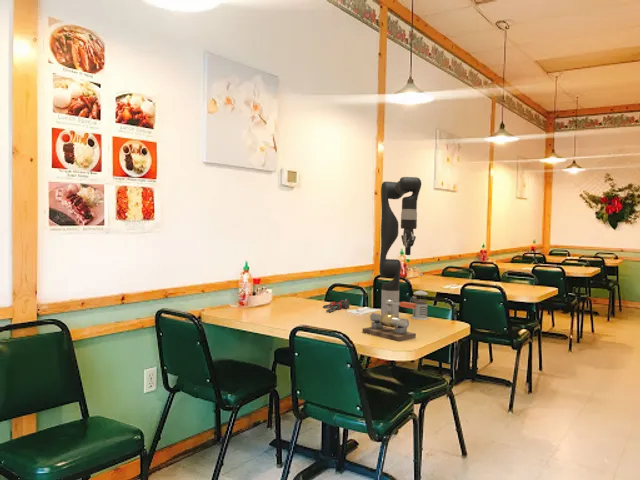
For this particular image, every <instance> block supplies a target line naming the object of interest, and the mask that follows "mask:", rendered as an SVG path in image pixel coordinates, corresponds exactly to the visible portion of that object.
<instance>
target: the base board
mask: <svg viewBox="0 0 640 480" xmlns="http://www.w3.org/2000/svg"><path fill="white" fill-rule="evenodd" d="M371 327H372V326H370V327H364V328H361V329H362V334H366V333H367V335H370V334H371V335H370V336H374V337H375V336H376V337H379V338H383V339H388V340H391V341H396V342H403V341H408V340H413V339H416V338H417V334H416V333H415V332H411V331H407V334H402V335H398V334H395V328H392V327H387V326H383V328H382V329H377V330H376V329H371Z"/></svg>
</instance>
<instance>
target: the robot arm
mask: <svg viewBox="0 0 640 480" xmlns="http://www.w3.org/2000/svg"><path fill="white" fill-rule="evenodd" d="M421 187H422V180H421V179H420V178H419V177H417V176H402V177H400V178H399V180H398V181H383V182H382V184H381V187H380V200H381V215H380V216H381V219H380V220H381V221H380V222H381V223H380V255H379V257H380V258H379V268H378V269H379V276H380V277H384V278H393V279H391V280H390V281H387V282H385V283H383V284H382V285H381V297H380V298H381V301H380V303H381V304H380V305H381V306H380V314H383V313H388V305H387V304H386V300H387V299H391V300H393V301H395V302H400V283H401V269H402V267H401V261H400V259H394V258H393V259H392V258H391V259H390V258H387V255H388V253H389V250H391V247H392V245H394V244H395V241H396V240H397V238H398V236H399V226H400V229H403V232H402V235H401V241H402V245H403V246H404V248H405V249H404V252H405V253H404V255H405V256H411V249H412V247H413V246H414V245H415V241H416V236H415V235H414V234H415V233H414V230H416V229H417V227H418V223H417V222H418V209H417V208H418V198H419V195H420V191H421ZM408 193H411V195H409V196H404V195H406V194H408ZM403 196H404V197H403ZM402 197H403V198H402ZM401 198H402V199H401ZM399 199H401V200H402V201H401V213H400V225H399V220H398V218H397V217H396V215H395V213H394V212H393V211H392V208H391V207H390V202H389V200H399ZM399 311H400V305H395V304H393V305H391V314H393V315H397V317H398V318H400V317H399V316H400V315H399V314H400V312H399Z"/></svg>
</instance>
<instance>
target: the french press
mask: <svg viewBox="0 0 640 480" xmlns="http://www.w3.org/2000/svg"><path fill="white" fill-rule="evenodd" d="M423 275H424V273H421V272H420V273H419V276H420V277H422V276H423ZM414 295H415V296H414ZM416 295H417V296H420V297H419V298H420V299H416ZM427 295H429V294H428V292H426V291H424V290H422V289H420V290H416V291H414V292H413V296H412V297H411V298H410V301H409V303H415V304H416V308H414V309H412V316H411V317H410V318H411V319H413V320H419V321H426V320H429V317H428V303H427V302H428V301H427V300H426V299H421V296H427ZM412 298H413V299H412ZM411 301H412V302H411Z"/></svg>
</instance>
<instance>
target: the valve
mask: <svg viewBox="0 0 640 480" xmlns="http://www.w3.org/2000/svg"><path fill="white" fill-rule="evenodd" d="M322 308H324V309H326V310H325V311H326V312H328V313H331V312H333V311H334V310H340V309H342V308H345V309H346V310H349V309H350V300H349V298H345V300H344V299H342V300H340V301H331V302H330V303H329V304H324V305H323V306H322Z"/></svg>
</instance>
